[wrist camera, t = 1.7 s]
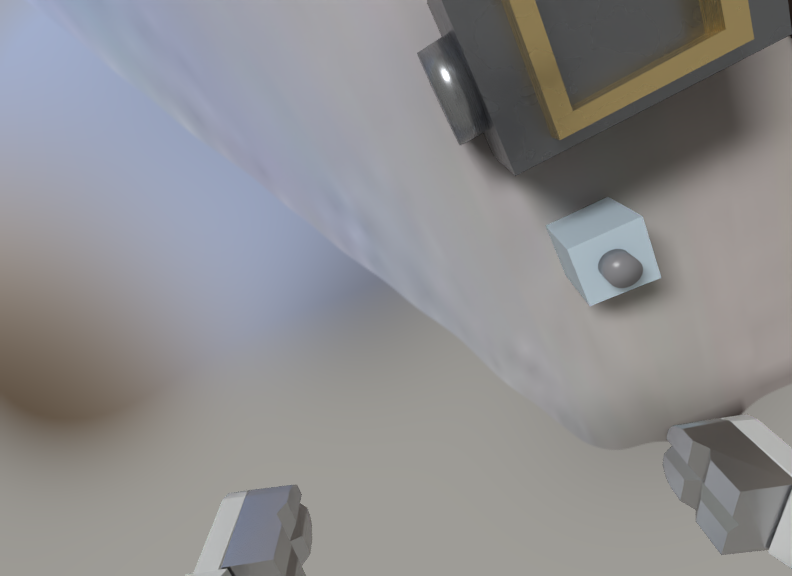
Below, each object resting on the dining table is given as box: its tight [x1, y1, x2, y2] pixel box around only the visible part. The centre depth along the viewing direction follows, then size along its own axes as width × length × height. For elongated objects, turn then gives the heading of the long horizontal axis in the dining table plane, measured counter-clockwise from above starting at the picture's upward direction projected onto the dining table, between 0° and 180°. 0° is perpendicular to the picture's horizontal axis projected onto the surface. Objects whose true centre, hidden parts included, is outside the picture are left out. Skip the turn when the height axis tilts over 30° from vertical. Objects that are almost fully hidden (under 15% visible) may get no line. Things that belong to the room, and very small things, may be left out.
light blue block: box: [546, 197, 661, 306], centre depth 29 cm, size 5×5×7 cm
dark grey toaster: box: [417, 0, 792, 176], centre depth 22 cm, size 16×11×10 cm
